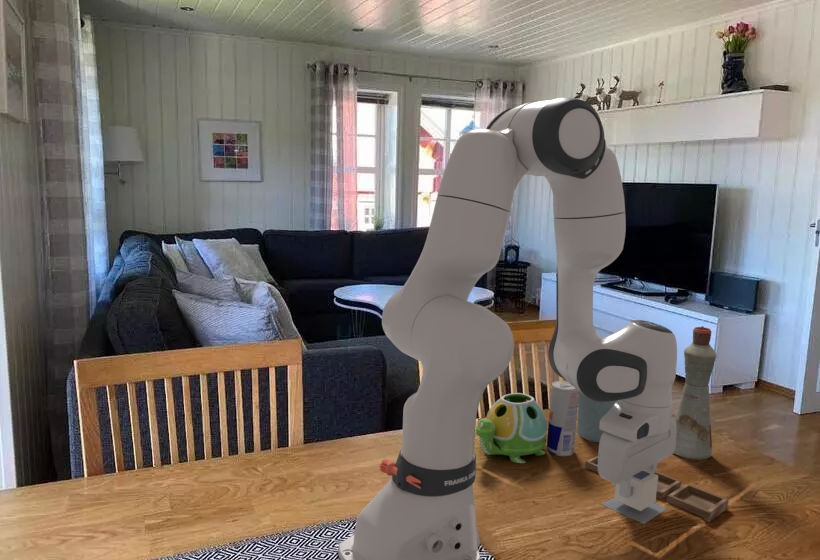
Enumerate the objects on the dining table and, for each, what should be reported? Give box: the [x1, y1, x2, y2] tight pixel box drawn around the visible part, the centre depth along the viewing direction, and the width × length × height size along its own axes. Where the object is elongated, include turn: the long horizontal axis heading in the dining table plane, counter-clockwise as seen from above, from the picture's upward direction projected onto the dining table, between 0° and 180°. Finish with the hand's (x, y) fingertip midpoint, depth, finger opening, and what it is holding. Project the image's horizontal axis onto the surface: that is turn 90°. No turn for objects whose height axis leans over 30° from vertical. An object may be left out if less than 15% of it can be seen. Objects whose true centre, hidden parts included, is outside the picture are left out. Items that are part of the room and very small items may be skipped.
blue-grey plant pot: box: [576, 391, 617, 443], centre depth 141 cm, size 10×10×12 cm
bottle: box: [673, 325, 717, 461], centre depth 133 cm, size 9×9×28 cm
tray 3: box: [666, 483, 729, 523], centre depth 113 cm, size 7×7×2 cm
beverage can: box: [546, 380, 579, 457], centre depth 132 cm, size 6×6×15 cm
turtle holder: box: [475, 392, 548, 464], centre depth 130 cm, size 12×18×12 cm
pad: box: [601, 497, 668, 525], centre depth 111 cm, size 8×8×1 cm
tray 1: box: [584, 455, 599, 474], centre depth 125 cm, size 7×7×2 cm
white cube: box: [614, 470, 658, 511], centre depth 110 cm, size 5×5×5 cm
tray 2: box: [654, 470, 682, 500], centre depth 119 cm, size 7×7×2 cm
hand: (635, 490), depth 110 cm, fingers closed on white cube, 5 cm apart
